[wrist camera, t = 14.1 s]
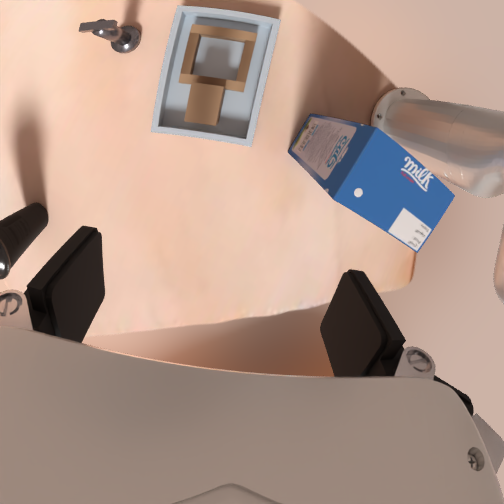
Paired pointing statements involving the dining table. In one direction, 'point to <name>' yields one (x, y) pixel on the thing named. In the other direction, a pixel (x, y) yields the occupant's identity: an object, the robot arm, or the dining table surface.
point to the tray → (215, 74)
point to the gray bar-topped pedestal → (114, 34)
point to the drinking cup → (19, 234)
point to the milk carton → (372, 177)
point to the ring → (209, 88)
